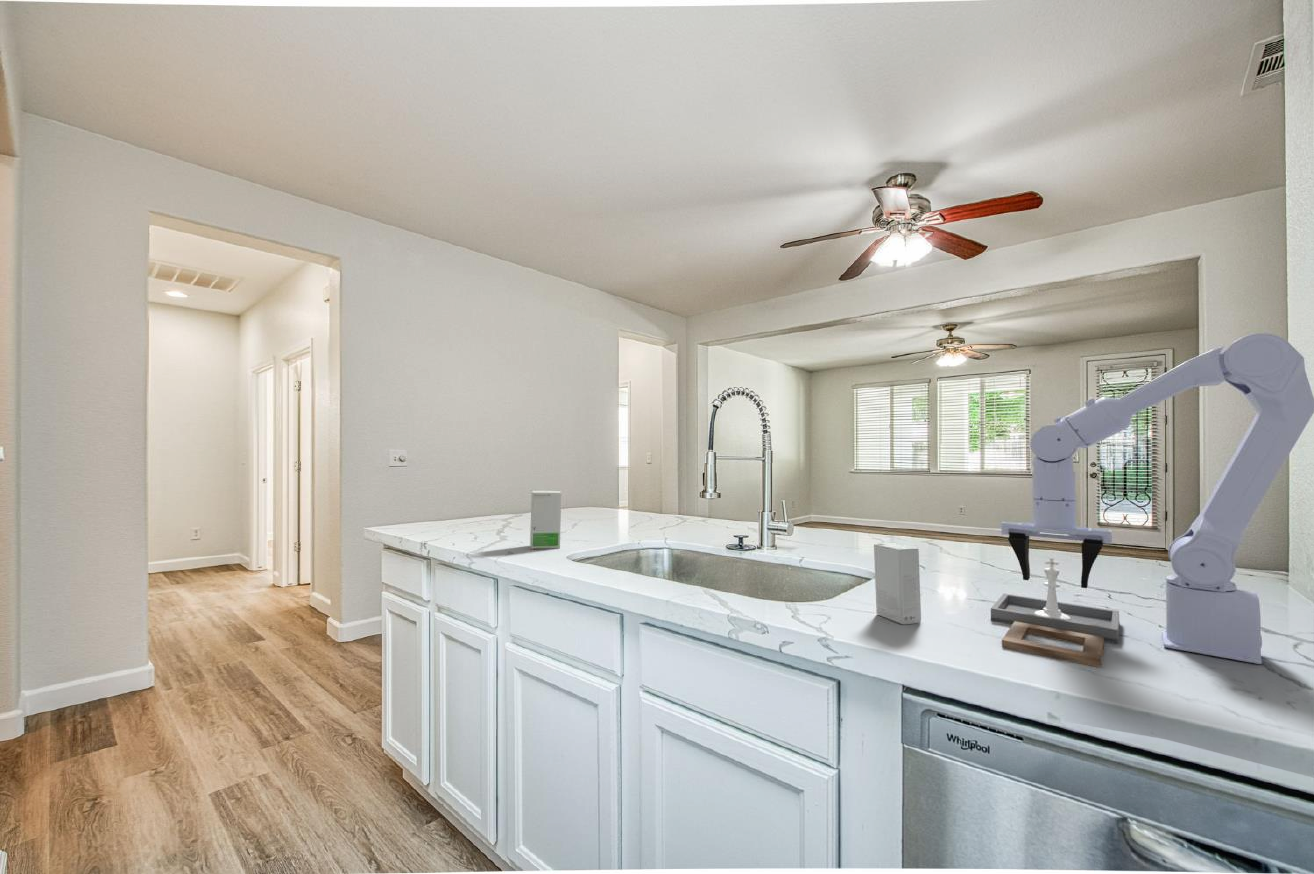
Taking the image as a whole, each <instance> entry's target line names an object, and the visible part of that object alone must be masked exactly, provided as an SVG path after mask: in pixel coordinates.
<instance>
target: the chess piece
mask: <svg viewBox="0 0 1314 874" xmlns="http://www.w3.org/2000/svg"><path fill="white" fill-rule="evenodd" d="M1054 559H1055V558H1054V557H1049V561H1048V560H1045V561H1044V564H1045V565H1049V567H1045V568H1044V569H1043V572H1044V573H1045V577H1046V579H1047V581H1045V582H1044V583H1043V586H1045V587H1048V588H1047V589H1048V590H1047V596H1046V597H1047V598H1046V600H1047V602H1046V607H1044V608H1043V609H1045V610H1039V611H1035V612H1034V615H1040V616H1046V617H1052V618H1058V619H1064V620H1070V617H1069V616H1068V615H1066V614H1063V613H1061V612H1060V611H1061V610H1059V609H1058V604H1057V602H1058V597H1057V591H1056V588H1061V586H1060V585H1061V584H1060V583H1057V579H1058V576H1059V574H1060V570H1059V569H1057V568H1055V566H1058V565H1059V561H1055V560H1054Z"/></svg>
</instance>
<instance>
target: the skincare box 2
mask: <svg viewBox="0 0 1314 874" xmlns="http://www.w3.org/2000/svg"><path fill="white" fill-rule="evenodd" d="M919 550H920V549H919V547H918V548H917V547H913V546H909V545H904V544H901V543H900V544H898V543H895V542H883V543H875V544H873V556H874V557H873V558H874V581H875V582H874V583H875V584H874V585H875V606H876V609H875V611H876V615H878V616H880V617H883V618H885V619H888V620H891V621H892V622H896V623H898V624H900V625H911V624H912V625H913V624H917V623H922V609H921V608H922V607H921V604H922V603H921V584H920V583H921V581H920V580H921V577H920V555H919V554H920V553H919V552H920V551H919Z"/></svg>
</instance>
